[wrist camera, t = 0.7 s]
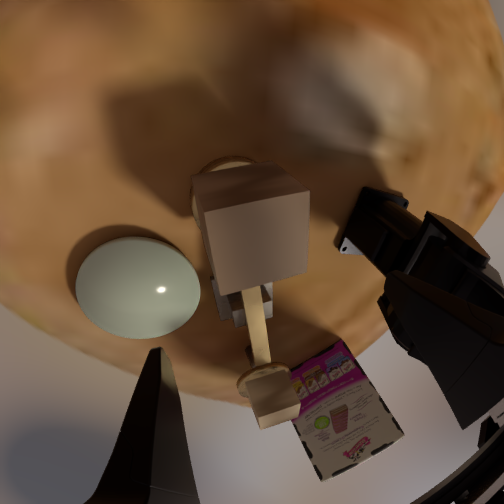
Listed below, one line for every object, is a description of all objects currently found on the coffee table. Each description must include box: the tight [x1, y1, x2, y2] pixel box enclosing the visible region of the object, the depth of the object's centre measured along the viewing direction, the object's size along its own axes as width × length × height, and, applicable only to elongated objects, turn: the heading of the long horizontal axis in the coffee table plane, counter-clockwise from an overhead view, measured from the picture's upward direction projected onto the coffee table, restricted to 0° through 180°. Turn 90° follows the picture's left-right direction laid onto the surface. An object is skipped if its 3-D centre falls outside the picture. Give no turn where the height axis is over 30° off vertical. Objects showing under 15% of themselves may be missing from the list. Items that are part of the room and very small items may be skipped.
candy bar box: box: [290, 340, 404, 482], centre depth 30 cm, size 11×5×16 cm, turn 117°
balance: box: [190, 156, 292, 398], centre depth 22 cm, size 24×6×5 cm, turn 5°
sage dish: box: [76, 237, 200, 339], centre depth 20 cm, size 10×10×1 cm
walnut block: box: [191, 161, 310, 296], centre depth 16 cm, size 5×5×5 cm
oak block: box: [245, 369, 301, 430], centre depth 24 cm, size 4×4×4 cm
